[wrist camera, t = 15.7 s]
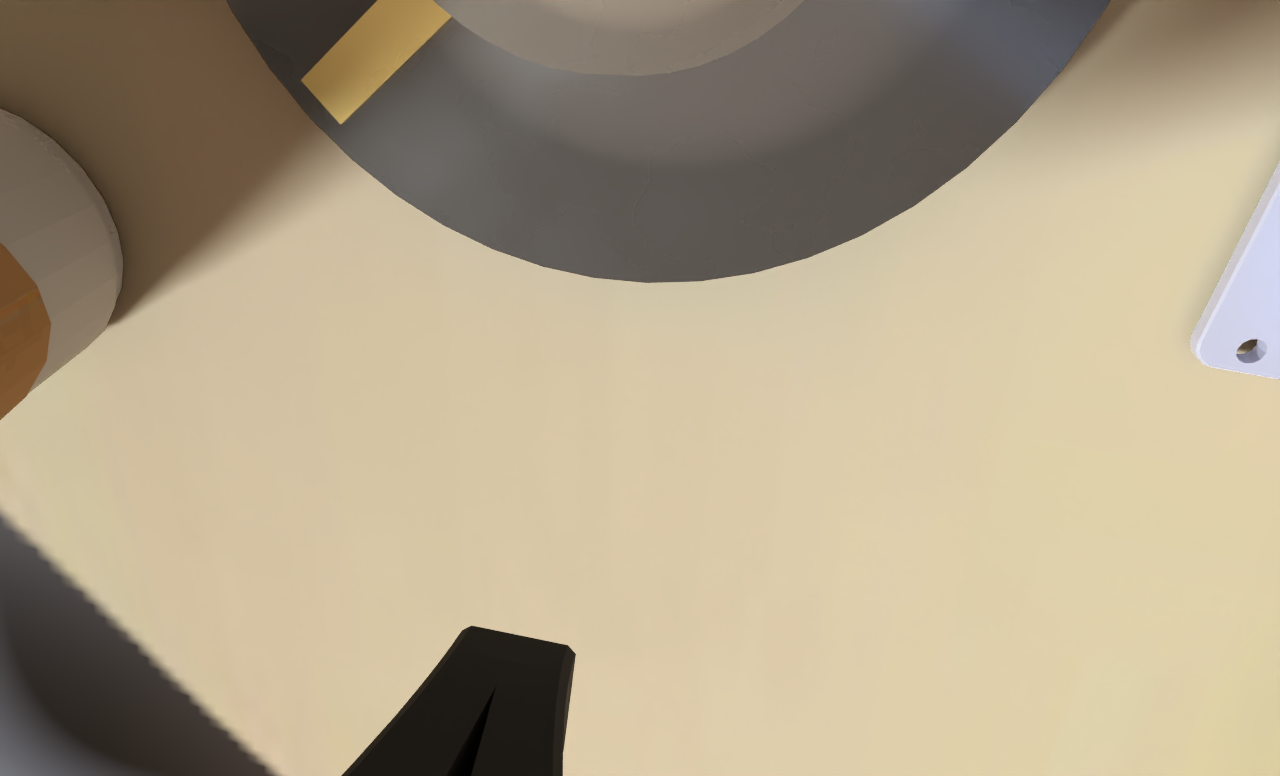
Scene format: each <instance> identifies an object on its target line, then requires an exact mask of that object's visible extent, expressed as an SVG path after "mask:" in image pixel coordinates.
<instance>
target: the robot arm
mask: <svg viewBox="0 0 1280 776" xmlns="http://www.w3.org/2000/svg"><path fill="white" fill-rule="evenodd" d="M1250 339H1258V340H1257V345H1256V346H1255V347H1254V348H1253V349H1252V350H1251V351H1249V352H1246V353H1244V354H1237V349H1238V348H1239V347H1240V346H1241V344H1242V343H1244V342H1246V341H1248V340H1250ZM1190 347H1191V351H1192V352H1193V353H1194V355H1195V356H1196V357H1197V358H1198V359H1199V360H1200V361H1201V362H1202V363H1203V364H1204V365H1207V366H1209V367H1212V368H1217V369H1222V370H1228V371H1234V372H1239V373H1245V374H1251V375H1257V376H1262V377H1268V378H1274V379H1279V380H1280V161H1279V163H1278V165H1277V167H1276V169H1275V171H1274V173H1273V175H1272V177H1271V179H1270V181H1269V183H1268V185H1267V187H1266V189H1265V191H1264V193H1263V195H1262V197H1261V199H1260V201H1259V203H1258V205H1257V207H1256V209H1255V211H1254V213H1253V215H1252V217H1251V219H1250V221H1249V223H1248V225H1247V227H1246V229H1245V231H1244V233H1243V235H1242V237H1241V238H1240V240H1239V242H1238V244H1237V246H1236V248H1235V250H1234V252H1233V254H1232V256H1231V258H1230V260H1229V262H1228V264H1227V266H1226V268H1225V270H1224V272H1223V274H1222V276H1221V278H1220V280H1219V282H1218V284H1217V286H1216V288H1215V290H1214V292H1213V294H1212V296H1211V298H1210V300H1209V302H1208V304H1207V306H1206V308H1205V310H1204V312H1203V314H1202V316H1201V317H1200V319H1199V321H1198V323H1197V325H1196V327H1195V329H1194V331H1193V333H1192V336H1191V340H1190ZM575 655H576V654H575V653H574V652H573V651H572V650H571V648H570V647H569V646H568V645H563V644H558V643H553V642H549V641H544V640H539V639H534V638H529V637H524V636H519V635H514V634H509V633H505V632H500V631H495V630H490V629H485V628H480V627H475V626H470V627H468V628H466V629H464V630H462V632H461V633H460V634H459V636H458V637H457V639H456V640H455V642H454V643H453V644H452V646H451V647H450V649H449V650H448V651H447V653H446V654H445V655H444V657H443V658H442V659H441V661H440V662H439V663H438V664H437V666H436V667H435V668H434V670H433V671H432V672H431V673H430V675H429V676H428V677H427V679H426V680H425V681H424V682H423V683H422V685H421V686H420V687H419V688H418V690H417V691H416V692H415V693H414V694H413V696H412V697H411V698H410V699H409V700H408V702H407V703H406V704H405V705H404V706H403V708H402V709H401V710H400V711H399V712H398V714H397V715H396V716H395V717H394V718H393V719H392V720H391V722H390V723H389V724H388V725H387V726H386V727H385V728H384V729H383V730H382V732H381V733H380V734H379V735H378V736H377V737H376V738H375V739H374V741H373V742H372V743H371V744H370V745H369V746H368V747H367V748H366V749H365V751H364V752H363V753H362V754H361V755H360V756H359V757H358V758H357V760H356V761H355V762H354V763H353V764H352V765H351V766H350V767H349V768H348V769H347V770H346V771H345V772H344V774H343V775H342V776H563V750H564V742H565V734H566V726H567V718H568V710H569V702H570V695H571V687H572V679H573V671H574V663H575Z"/></svg>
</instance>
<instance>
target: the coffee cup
mask: <svg viewBox="0 0 1280 776" xmlns="http://www.w3.org/2000/svg"><path fill="white" fill-rule="evenodd" d="M123 262H124V261H123V256H122V251H121V246H120V241H119V236H118V231H117V228H116V226H115V224H114V222H113V219H112V217H111V215H110V213H109V210H108V208H107V206H106V204H105V201H104V199H103V197H102V196H101V195H100V193H99V192H98V190H97V189H96V187H95V186H94V185H93V183H92V182H91V180H90V179H89V177H88V176H87V175H86V173H85V172H84V170H83V169H82V167H81V166H80V165H79V164H78V163H77V162H76V161H75V160H74V159H73V158H72V157H71V156H69V155H68V154H67V153H66V152H65V151H64V150H63V149H62V148H61V147H60V146H59V145H58V144H57V143H56V142H55V141H54V140H53V139H52V138H50V137H49V136H48V135H46V134H45V133H43V132H42V131H40V130H39V129H37V128H36V127H34V126H33V125H31V124H30V123H29V122H27V121H26V120H24V119H23V118H21V117H19V116H16V115H14V114H12V113H9V112H7V111H5V110H2V109H0V420H1V419H2V418H3V417H4V416H5V415H6V414H7V413H9V412H10V411H11V410H12V409H13V408H14V407H15V406H16V405H17V404H18V403H19V402H21V401H22V400H23V399H24V398H25V397H26V396H27V394H28V393H29V392H30V391H32V390H33V389H34V388H36V387H37V386H38V385H39V384H41V383H42V382H43V381H45V380H46V379H47V378H48V377H50V376H51V375H52V374H54V373H55V372H56V371H57V370H59V369H60V368H61V367H62V366H64V365H65V364H66V363H68V362H69V361H70V360H71V359H73V358H74V357H75V356H77V355H78V354H79V353H80V352H82V351H83V350H84V349H86V348H87V347H88V346H89V345H90V344H91V343H92V342H93V341H94V340H95V339H96V338H97V337H98V336H99V335H100V334H101V333H102V332H103V331H104V330H105V329H106V326H107V324H108V322H109V319H110V317H111V315H112V312H113V310H114V308H115V304H116V299H117V297H118V295H119V293H120V290H121V288H122V275H123Z"/></svg>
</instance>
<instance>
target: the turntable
mask: <svg viewBox="0 0 1280 776" xmlns="http://www.w3.org/2000/svg"><path fill="white" fill-rule="evenodd" d="M227 2H228V4H229V6H230V8H231V10H232V12H233V14H234V15H235V17H236V18H237V20H238V21H239V23H240V24H241V26H242V27H243V29H244V30H245V32H246V33H247V35H248V36H249V38H250V39H251V41H252V42H253V44H254V46H255V47H256V49H257V50H258V52H259V53H260V55H261V56H262V58H263V59H264V61H265V62H266V64H267V65H268V67H269V68H270V70H271V71H272V72H273V73H274V74H275V76H276V77H277V78H278V79H279V81H280V82H281V83H282V84H283V85H284V87H285V88H286V89H287V90H288V92H289V93H290V94H291V95H292V97H293V98H294V99H295V100H296V101H297V103H298V104H299V105H300V106H301V108H302V109H303V110H304V111H305V112H306V114H307V115H308V116H309V117H310V118H311V119H312V120H313V121H314V122H315V123H316V124H317V125H318V126H319V127H320V128H321V129H322V130H323V131H324V132H325V133H326V134H327V135H328V136H329V137H330V138H331V139H332V140H333V141H334V142H335V143H336V144H337V145H338V146H339V147H340V148H341V149H342V150H343V151H344V152H345V153H346V154H347V155H348V156H349V157H350V158H351V159H352V160H353V161H354V162H356V163H357V164H358V165H359V166H361V167H362V168H363V169H364V170H366V171H367V172H368V173H369V174H371V175H372V176H373V177H374V178H376V179H377V180H378V181H379V182H381V183H382V184H383V185H384V186H386V187H387V188H388V189H389V190H391V191H392V192H393V193H394V194H396V195H397V196H398V197H400V198H402V199H403V200H405V201H406V202H408V203H409V204H411V205H413V206H414V207H416V208H417V209H419V210H420V211H422V212H424V213H425V214H427V215H428V216H430V217H431V218H433V219H435V220H436V221H438V222H439V223H441V224H442V225H444V226H446V227H448V228H450V229H452V230H454V231H457V232H459V233H461V234H463V235H465V236H467V237H469V238H471V239H473V240H475V241H477V242H479V243H481V244H483V245H485V246H487V247H489V248H492V249H494V250H497V251H500V252H503V253H506V254H508V255H511V256H514V257H517V258H520V259H523V260H526V261H529V262H531V263H534V264H537V265H540V266H543V267H548V268H552V269H557V270H561V271H566V272H570V273H575V274H579V275H584V276H589V277H593V278H602V279H613V280H624V281H634V282H645V283H653V282H689V281H704V280H711V279H717V278H724V277H731V276H737V275H744V274H750V273H755V272H759V271H763V270H766V269H770V268H773V267H777V266H780V265H784V264H788V263H791V262H795V261H798V260H802V259H805V258H808V257H811V256H813V255H816V254H818V253H821V252H823V251H825V250H828V249H830V248H833V247H835V246H837V245H840V244H842V243H845V242H847V241H849V240H852V239H854V238H857V237H859V236H861V235H863V234H865V233H867V232H868V231H870V230H872V229H874V228H876V227H877V226H879V225H881V224H883V223H884V222H886V221H888V220H890V219H892V218H893V217H895V216H897V215H899V214H901V213H902V212H904V211H906V210H908V209H909V208H911V207H913V206H915V205H916V204H917V203H919V202H920V201H922V200H923V199H924V198H926V197H927V196H928V195H930V194H931V193H933V192H934V191H935V190H937V189H938V188H939V187H941V186H942V185H944V184H945V183H946V182H948V181H949V180H950V179H952V178H953V177H955V176H956V175H957V174H959V173H960V172H961V171H963V170H964V169H966V168H967V167H968V166H969V165H970V164H971V163H972V162H973V161H974V160H976V159H977V158H978V157H979V156H980V155H981V154H982V153H983V152H984V151H985V150H986V149H988V148H989V147H990V146H991V145H992V144H993V143H994V142H995V141H996V140H997V139H998V138H1000V137H1001V136H1002V135H1003V134H1004V133H1005V132H1006V131H1007V130H1008V129H1009V128H1011V127H1012V126H1013V125H1014V124H1015V123H1016V122H1017V121H1018V120H1019V119H1020V117H1021V116H1022V115H1023V114H1024V113H1025V112H1026V111H1027V109H1028V108H1029V107H1030V106H1031V105H1032V104H1033V103H1034V101H1035V100H1036V99H1037V98H1038V97H1039V96H1040V95H1041V93H1042V92H1043V91H1044V90H1045V89H1046V88H1047V87H1048V85H1049V84H1050V83H1051V82H1052V81H1053V80H1054V79H1055V77H1056V76H1057V75H1058V74H1059V73H1060V72H1061V71H1062V69H1063V68H1064V67H1065V66H1066V64H1067V63H1068V61H1069V60H1070V58H1071V57H1072V56H1073V54H1074V53H1075V51H1076V50H1077V48H1078V47H1079V46H1080V44H1081V43H1082V41H1083V40H1084V38H1085V37H1086V36H1087V34H1088V33H1089V31H1090V30H1091V28H1092V27H1093V26H1094V24H1095V23H1096V21H1097V20H1098V18H1099V17H1100V16H1101V14H1102V13H1103V11H1104V10H1105V8H1106V7H1107V6H1108V4H1109V2H1110V0H804V1H803V2H802V3H801V4H800V5H799V6H798V7H797V8H796V9H795V10H794V11H793V12H791V13H790V14H789V15H788V16H787V17H786V18H785V19H784V20H782V21H781V22H780V23H778V24H777V25H775V26H774V27H773V28H771V29H770V30H769V31H767V32H766V33H765V34H763V35H762V36H760V37H759V38H758V39H756V40H754V41H752V42H750V43H749V44H747V45H745V46H743V47H741V48H739V49H738V50H736V51H734V52H732V53H730V54H728V55H726V56H723V57H721V58H718V59H715V60H713V61H710V62H708V63H705V64H703V65H700V66H696V67H692V68H688V69H684V70H680V71H675V72H671V73H664V74H654V75H644V76H627V75H606V74H583V73H577V72H571V71H566V70H560V69H555V68H550V67H547V66H544V65H541V64H538V63H535V62H532V61H529V60H526V59H523V58H520V57H518V56H516V55H514V54H512V53H509V52H507V51H505V50H503V49H501V48H499V47H497V46H495V45H493V44H491V43H489V42H488V41H486V40H484V39H483V38H481V37H480V36H478V35H477V34H475V33H474V32H472V31H470V30H469V29H467V28H466V27H464V26H463V25H462V24H460V23H459V22H458V21H457V20H456V19H454V18H453V17H452V16H451V15H449V14H448V13H447V12H446V11H445V10H443V9H442V8H441V7H440V6H439V5H437V4H436V3H435V2H434V1H433V0H227Z"/></svg>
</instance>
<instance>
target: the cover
mask: <svg viewBox="0 0 1280 776" xmlns="http://www.w3.org/2000/svg"><path fill="white" fill-rule="evenodd" d="M433 1H434V2H435V3H436V4H437V5H439V6H440V7H441V8H442V9H443V10H445V11H446V12H447V13H448V14H449V15H451V16H452V17H453V18H454V19H456V20H457V21H458V22H459V23H460V24H462V25H463V26H464V27H466V28H467V29H469V30H470V31H472V32H474V33H475V34H477V35H478V36H480V37H481V38H483V39H484V40H486V41H488V42H489V43H491V44H493V45H495V46H497V47H499V48H501V49H503V50H505V51H507V52H509V53H512V54H514V55H516V56H518V57H520V58H523V59H526V60H529V61H532V62H535V63H538V64H541V65H544V66H547V67H550V68H555V69H560V70H566V71H571V72H577V73H583V74H606V75H627V76H644V75H654V74H664V73H671V72H675V71H680V70H684V69H688V68H692V67H696V66H700V65H703V64H705V63H708V62H710V61H713V60H715V59H718V58H721V57H723V56H726V55H728V54H730V53H732V52H734V51H736V50H738V49H739V48H741V47H743V46H745V45H747V44H749V43H750V42H752V41H754V40H756V39H758V38H759V37H760V36H762V35H763V34H765V33H766V32H767V31H769V30H770V29H771V28H773V27H774V26H775V25H777V24H778V23H780V22H781V21H782V20H784V19H785V18H786V17H787V16H788V15H789V14H790V13H791V12H793V11H794V10H795V9H796V8H797V7H798V6H799V5H800V4H801V3H802V2H803V1H804V0H433Z"/></svg>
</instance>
